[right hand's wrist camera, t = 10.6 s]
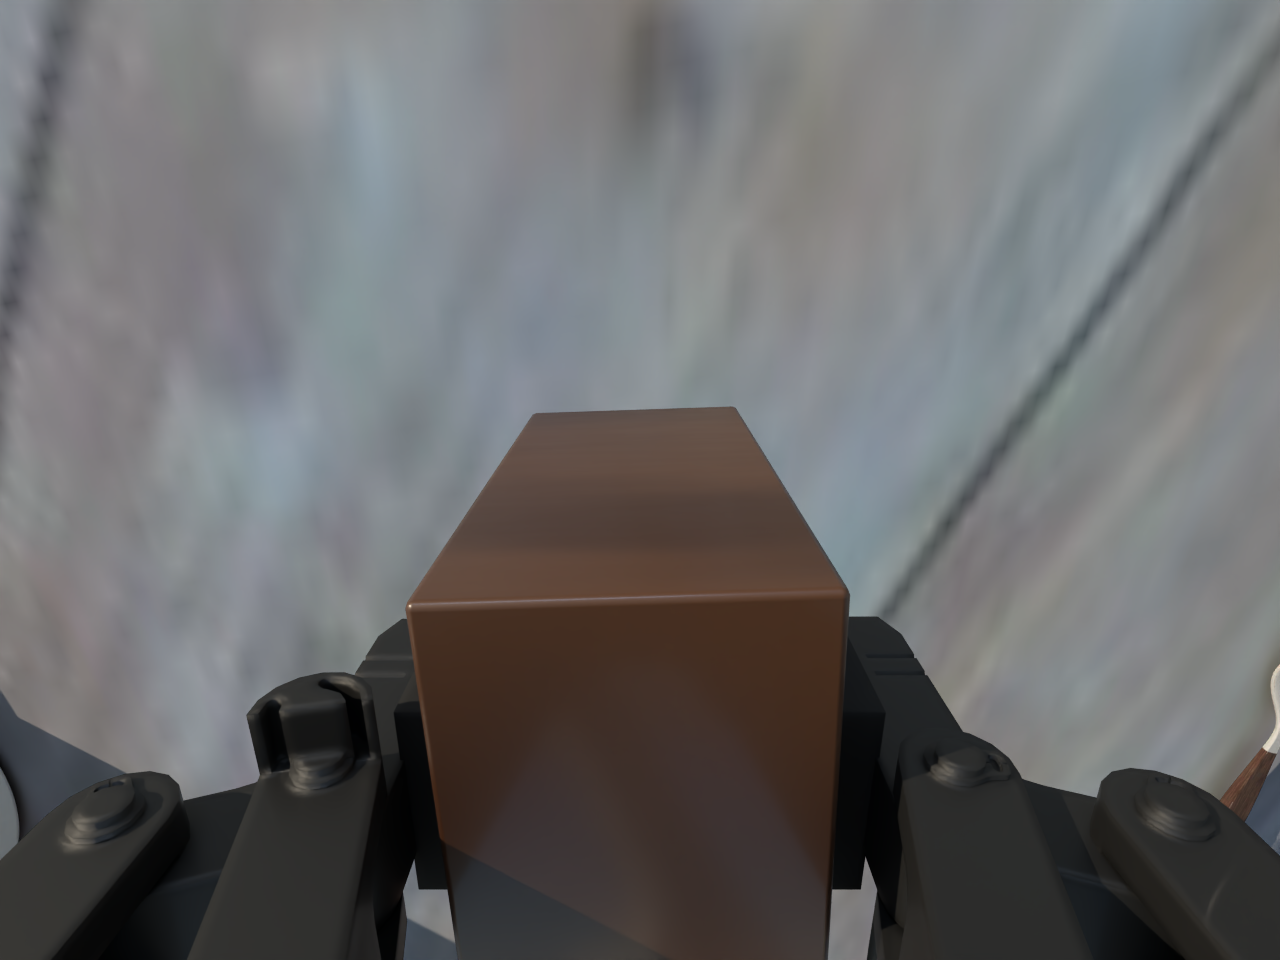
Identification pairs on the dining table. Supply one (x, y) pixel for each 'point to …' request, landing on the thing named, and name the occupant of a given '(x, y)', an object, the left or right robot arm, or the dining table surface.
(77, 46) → the dining table surface
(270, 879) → the right robot arm
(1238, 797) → the fork
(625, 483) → the walnut beam
